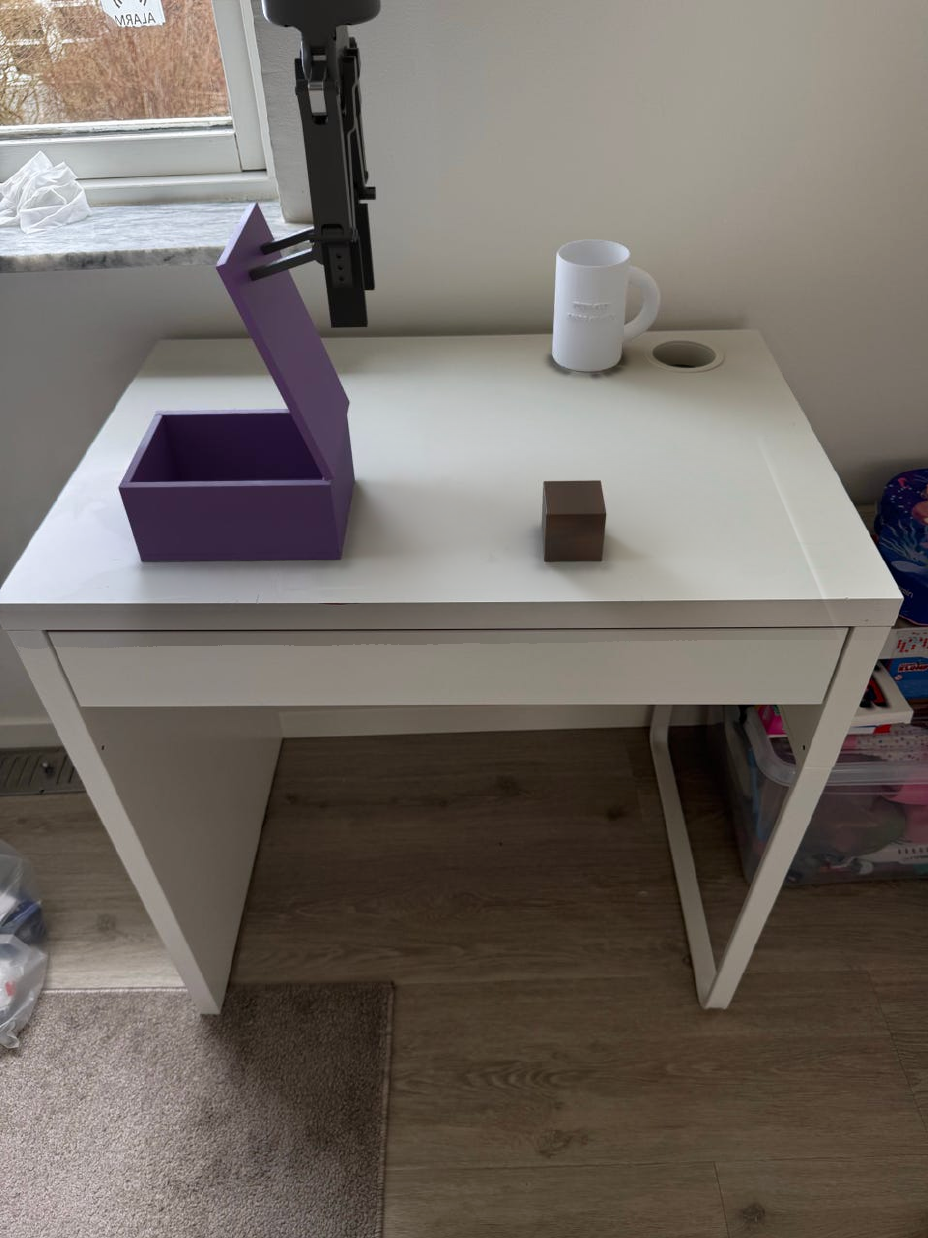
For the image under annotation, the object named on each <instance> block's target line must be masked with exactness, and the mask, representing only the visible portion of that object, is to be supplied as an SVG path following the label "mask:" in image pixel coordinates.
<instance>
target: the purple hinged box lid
mask: <svg viewBox="0 0 928 1238" xmlns="http://www.w3.org/2000/svg"><path fill="white" fill-rule="evenodd" d="M313 230H314V225H312V226H308V227H307V228H304V229H301V230H298V231H295V232H292V233H290V234H287V235H284V236H281V237H278V238H276V239H275V238H274V235H273V234H272V231H271V229H270V226H269V225H268V223H267V219H266V217H265V216H264V213H263V212H262V210H261V208H260V205H259V203H258V201H255V202H253V203H250V204H248V205H247V206H246V208H245V210H244V212H243V214H242V216H241V218H240V220H239V222H238V224H237V225H236V227H235V229H234V231H233V233H232V235H231V237H230V238H229V240H228V242H227V244H226V246H225V248H224V250H223V251H222V254H221V255H220V257H219V259H218V261H217V263H216V265H215V266H214V267H215V269H216V272H217V274H218V276H219V277H220V279H221V281H222V283H223V285H224V287H225V289H226V291H227V293H228V295H229V297H230V299H231V301H232V302H233V304H234V307H235V308H236V310H237V313H238V315H239V316H240V318H241V320H242V322H243V324H244V326H245V328H246V329H247V332H248V334H249V336H250V338H251V340H252V342H253V343H254V346H255V348H256V349H257V351H258V354H259V355H260V357H261V359H262V361H263V363H264V365H265V367H266V369H267V371H268V372H269V375H270V377H271V378H272V381H273V382H274V385H275V386H276V388H277V390H278V392H279V394H280V396H281V397H282V400H283V402H284V403H285V405H286V409H289V411H290V413H291V415H292V417H293V419H294V421H295V423H296V425H297V427H298V429H299V431H300V433H301V435H302V437H303V439H304V441H305V442H306V444H307V446H308V448H309V450H310V452H311V454H312V456H313V458H314V460H315V462H316V464H317V466H318V468H319V470H320V472H321V474H322V476H323V477H324V479H325V481H328V480H332V479H334V477H335V472H336V467H337V462H338V457H339V452H340V447H341V443H342V438H343V433H344V428H345V423H346V418H347V417H348V414H349V408H350V404H351V402H350V399H349V397H348V395H347V393H346V391H345V389H344V386H343V384H342V382H341V380H340V377H339V375H338V374H337V372H336V369H335V367H334V365H333V363H332V361H331V358H330V356H329V354H328V351H327V350H326V347H325V346H324V344H323V341H322V339H321V336H320V334H319V333H318V330H317V328H316V326H315V324H314V322H313V319H312V317H311V316H310V313H309V311H308V309H307V306H306V305H305V302H304V300H303V298H302V296H301V293H300V291H299V289H298V287H297V285H296V282H295V281H294V279H293V276H292V274H291V272H290V270H291V269H293V268H297V267H300V266H302V265H306V264H308V263H311V262H314V261H315V262H316V263H317V264H319V265H321V266H324V265H323V257H322V249H321V243H312V245H311V248H308V249H304V250H302V251H299V252H296V253H293V254H291V255H287V256H285V257H283V255H282V252H281V251H282V250H285V249H288V248H290V247H293V246H296V245H299V244H302V243H306V242H307V241H309V236H308V234H311V233H313Z"/></svg>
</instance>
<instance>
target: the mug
mask: <svg viewBox="0 0 928 1238" xmlns="http://www.w3.org/2000/svg"><path fill="white" fill-rule="evenodd" d="M555 259H556V261H555V282H554V283H555V284H554V302H553V303H554V308H553V309H554V310H553V329H552V350H551V354H552V357H553V359H554V361H555V362H556V364H558V365H559V366H561V367H563V368H565V369H568V370H571V371H576V372H582V373H583V372H585V373H586V372H587V373H591V372H601V371H606V370H609V369H611V368H612V367H613V368H614V367H615V366H616V365H617V364H618V363H619V362H620V361H621V359H622V353H623V343H626V342H629V341H632V340H634V339H636V338H639V336H642V335H643V334H644V333H646V331H648V330H649V329H650V328H651V326H652V325H653V323H654V322H655V320H656V319H657V317H658V314H659V311H660V307H661V292H660V287H659V285H658V283H657V282H656V280H655V279H654V278H653V276H652V275H651V274H650V273H648V272H647V271H645V270H643V269H642V268H639V267H637V266H633V265H631V260H632V254H631V251H630V250H629V249H628V248H627V247H626V246H624V245H622V244H621V243H618V242H615V241H610V240H606V239H580V240H579V239H578V240H575V241H574V240H573V241H570V242H568V243H565V244H563V245H561V246H560V247H559V249H558V250H557V252H556V257H555ZM629 284H630V285H633V286H635V287H636V288H637V289H638V290H639V291H640V293H641V294H642V297H643V298H642V299H643V304H642V308H641V310H640V311H639V313H638V314H637V316H636V317H635V318H634V319H632V320H631V321H630V322H628V323H625V322H626V312H627V302H628V291H629V290H628V289H629Z"/></svg>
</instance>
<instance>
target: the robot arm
mask: <svg viewBox="0 0 928 1238" xmlns="http://www.w3.org/2000/svg"><path fill="white" fill-rule="evenodd" d="M261 5H262V12H263V15H264V18H265V19H266V20H267V21H268V23H270V24H272V25H274V26H277V27H281V28H292V27H293V28H295V30H296V29H297V30H298V31H299V32H300V37H301V42H300V46H301V49H299V57H295V58H294V63H293V64H294V65H293V66H294V79H295V86H294V93H295V96H296V98H297V99H296V100H297V104H298V109H299V116H300V121H301V127H302V137H303V145H304V153H305V154H304V155H305V162H306V170H307V179H308V187H309V196H310V205H311V213H312V214H311V215H312V223H313V226H314V230H313V233H311V234H308V236H309V240H308V241H309V243H310V244H313V243H321V249H322V257H323V265H322V266H323V271H324V272H323V273H324V280H325V289H326V295H327V304H328V311H329V320H330V328H331V329H341V328H344V329H345V328H346V329H348V328H368V325H369V318H368V307H367V298H366V291H375V289H376V280H375V269H374V259H373V248H372V237H371V236H372V235H371V226H370V215H369V203H367V202H363V203H362V202H361V201H376V200H377V187H376V186H375V185H374V186H367V185H366V184H368V181H369V178H370V176H369V175H370V174H369V171H368V167H367V157H366V148H365V147H366V146H365V137H364V125H363V117H362V103H363V99H362V98H363V97H362V91H361V82H360V77H361V68H362V61H361V52H360V48H359V47H358V42H356V41H357V40H356V38H355V36H349V31H348V29H349V28H348V26H349V27H350V26H351V27H352V26H357V25H362V24H365V23H367V22H370V21H373V20H374V19H375V18H377V17H378V15H379V14H380V12H381V9H382V3H381V0H261Z"/></svg>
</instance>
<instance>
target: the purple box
mask: <svg viewBox="0 0 928 1238" xmlns="http://www.w3.org/2000/svg"><path fill="white" fill-rule="evenodd" d="M352 452H353V451H352V443H351V434H350V426H349V418H348V416H347V418H346V423H345V428H344V433H343V438H342V443H341V447H340V452H339V457H338V462H337V467H336V472H335V477H334V479H332V480H328V481H325V479H324V477H323V476H322V474H321V472H320V470H319V468H318V466H317V464H316V462H315V460H314V458H313V456H312V454H311V452H310V450H309V448H308V446H307V444H306V442H305V441H304V439H303V437H302V435H301V433H300V431H299V429H298V427H297V425H296V423H295V421H294V419H293V417H292V415H291V413H290V411H289V409H288V408H262V409H261V408H257V409H255V408H253V409H194V410H193V409H192V410H190V409H189V410H188V409H186V410H184V409H183V410H181V409H180V410H156V412H155V413H154V416H153V418H152V420H151V422H150V424H149V426H148V428H147V429H146V431H145V433H144V435H143V438H142V440H141V441H140V443H139V445H138V447H137V449H136V451H135V453H134V455H133V457H132V459H131V462H130V463H129V465H128V467H127V469H126V472H125V473H124V475H123V476H122V479H121V480H120V481H121V482H120V483H119V485H118V487H117V489H118V492H119V495H120V499H121V501H122V502H121V503H122V505H123V508H124V511H125V514H126V517H127V520H128V522H129V526H130V529H131V533H132V537H133V539H134V542H135V545H136V548H137V551H138V554H139V558H140V560H141V562H217V561H218V562H219V561H220V562H223V561H226V562H230V561H231V562H232V561H234V562H235V561H314V560H316V561H317V560H322V561H323V560H324V561H325V560H327V561H328V560H333V561H334V560H341V559H342V555H343V550H344V545H345V538H346V532H347V528H348V527H347V525H348V520H349V515H350V509H351V503H352V498H353V493H354V487H355V483H356V482H355V481H356V477H355V468H354V460H353V453H352Z"/></svg>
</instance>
